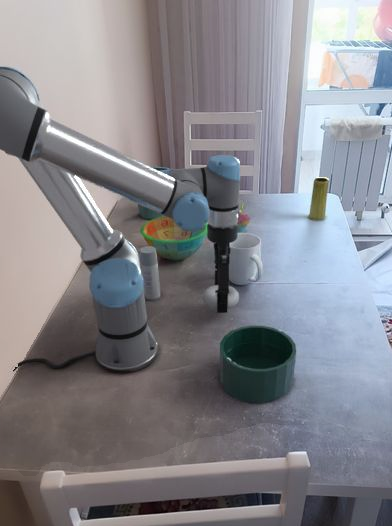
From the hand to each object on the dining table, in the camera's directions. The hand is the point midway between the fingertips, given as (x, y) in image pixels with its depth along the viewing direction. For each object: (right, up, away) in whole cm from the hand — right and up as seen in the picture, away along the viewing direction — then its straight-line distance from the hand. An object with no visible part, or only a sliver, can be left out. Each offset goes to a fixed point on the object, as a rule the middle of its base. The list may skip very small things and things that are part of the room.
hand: (220, 301), depth 131 cm
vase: (+39, +37, +53) cm, 76 cm away
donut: (0, 0, 0) cm, 1 cm away
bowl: (-13, +18, +31) cm, 39 cm away
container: (-19, +2, +11) cm, 22 cm away
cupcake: (+8, +30, +45) cm, 55 cm away
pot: (+7, -20, -20) cm, 29 cm away
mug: (+8, +8, +16) cm, 19 cm away
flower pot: (-23, +41, +61) cm, 77 cm away
